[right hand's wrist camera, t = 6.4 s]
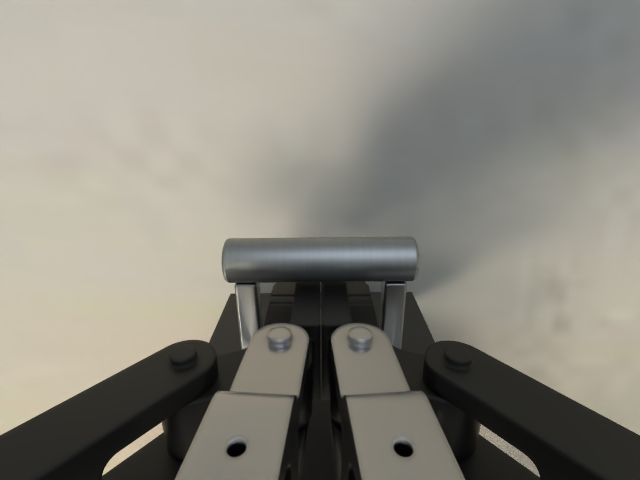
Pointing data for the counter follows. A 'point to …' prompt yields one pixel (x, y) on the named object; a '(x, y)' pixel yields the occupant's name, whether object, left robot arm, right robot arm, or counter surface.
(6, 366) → the counter surface
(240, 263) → the drawer
